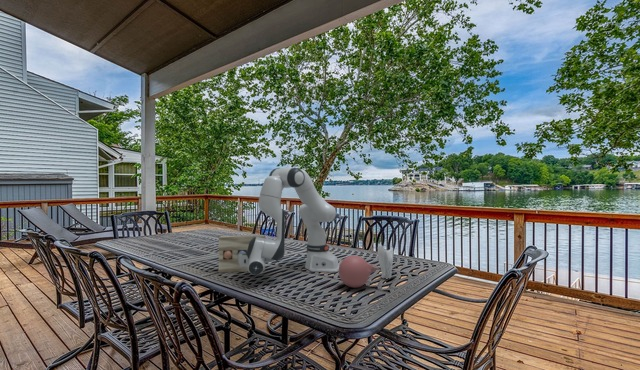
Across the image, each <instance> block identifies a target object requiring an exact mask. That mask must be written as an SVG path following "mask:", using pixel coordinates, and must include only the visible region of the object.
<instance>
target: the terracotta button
mask: <svg viewBox="0 0 640 370" xmlns="http://www.w3.org/2000/svg"><path fill="white" fill-rule="evenodd" d="M231 256H232V251H231V250H230V251H225V253H224V258H225V259H230V258H231Z"/></svg>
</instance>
